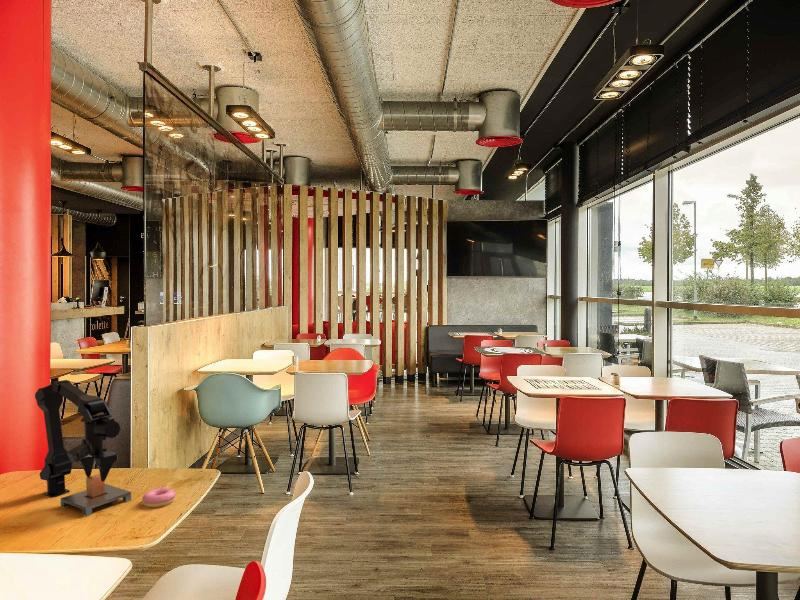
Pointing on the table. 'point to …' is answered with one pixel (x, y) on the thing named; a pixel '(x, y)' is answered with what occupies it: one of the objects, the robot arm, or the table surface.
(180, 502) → the table surface
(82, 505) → the slotted plate
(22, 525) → the table surface
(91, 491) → the square wooden peg
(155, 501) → the doughnut
